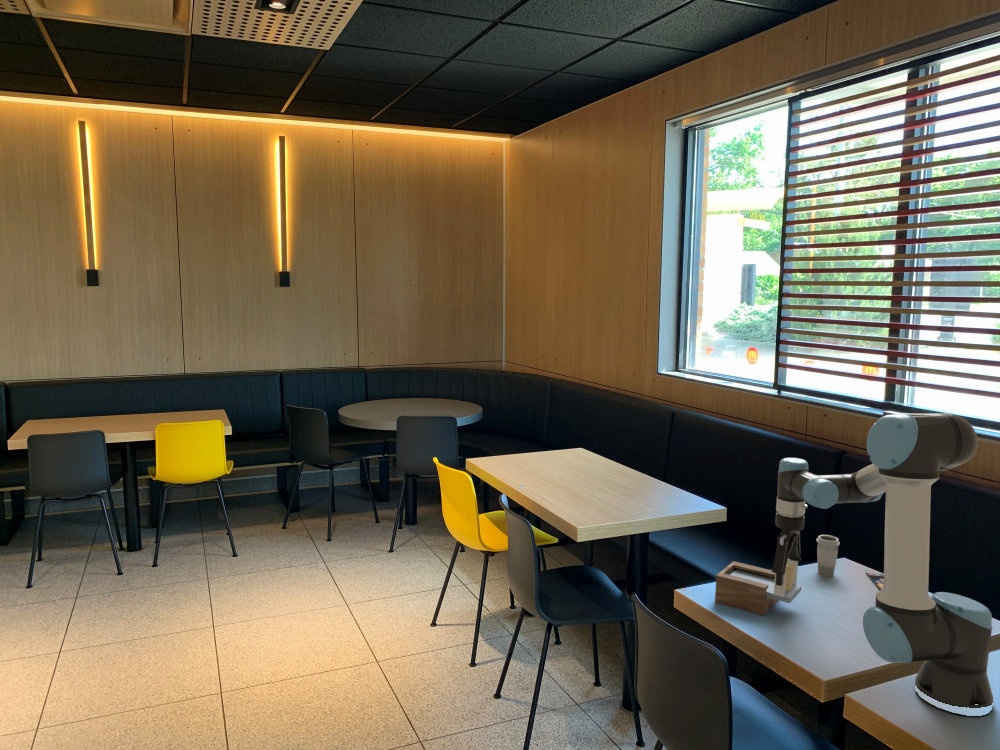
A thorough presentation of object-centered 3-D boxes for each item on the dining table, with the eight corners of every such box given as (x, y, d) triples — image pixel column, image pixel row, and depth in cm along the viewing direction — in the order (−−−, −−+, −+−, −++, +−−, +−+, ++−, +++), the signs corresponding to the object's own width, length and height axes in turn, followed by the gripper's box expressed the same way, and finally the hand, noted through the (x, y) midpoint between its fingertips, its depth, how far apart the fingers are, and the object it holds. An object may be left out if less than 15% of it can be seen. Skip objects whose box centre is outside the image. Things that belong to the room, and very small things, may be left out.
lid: (789, 603, 204) (791, 573, 203) (722, 585, 215) (724, 557, 214) (801, 590, 213) (803, 561, 212) (735, 573, 224) (737, 546, 223)
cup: (842, 576, 237) (845, 539, 235) (828, 580, 233) (831, 543, 232) (822, 568, 243) (825, 533, 241) (809, 572, 239) (811, 536, 238)
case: (763, 615, 207) (765, 587, 206) (714, 602, 216) (716, 575, 215) (778, 599, 219) (780, 572, 217) (732, 586, 227) (733, 561, 226)
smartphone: (892, 576, 238) (892, 572, 238) (910, 596, 223) (910, 592, 223) (865, 574, 239) (865, 571, 239) (881, 594, 224) (881, 590, 224)
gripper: (792, 527, 196) (786, 606, 199) (815, 506, 214) (810, 579, 217) (763, 521, 200) (758, 598, 203) (788, 501, 219) (784, 572, 222)
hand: (785, 588), depth 210 cm, fingers closed on lid, 11 cm apart
